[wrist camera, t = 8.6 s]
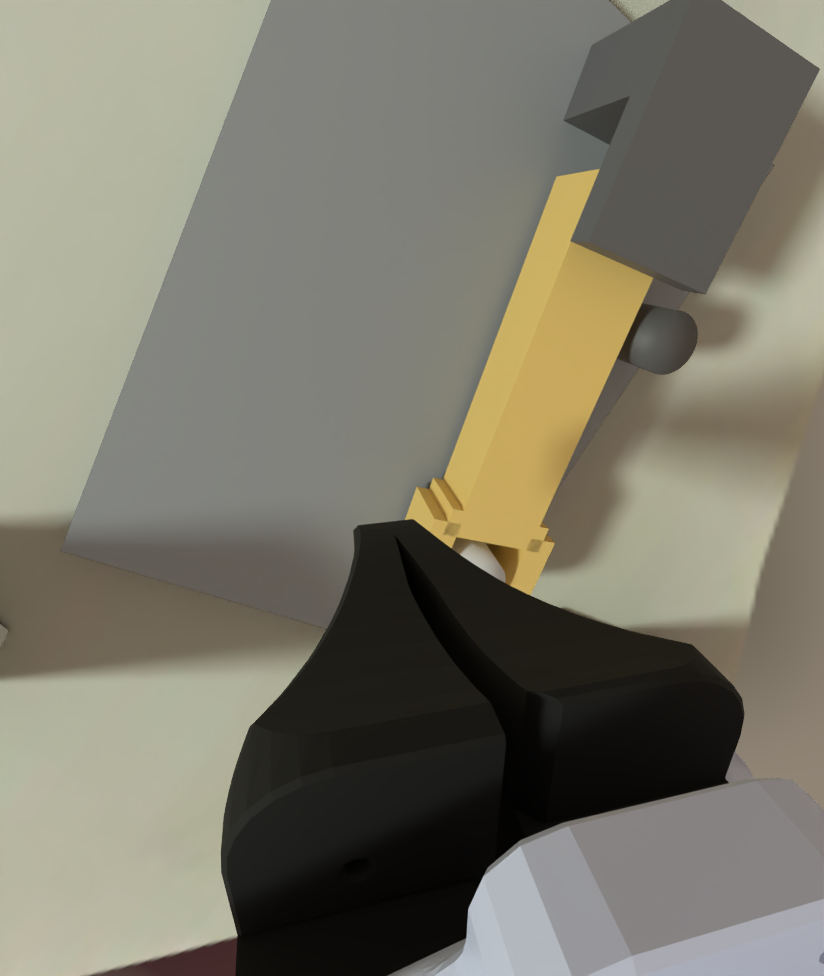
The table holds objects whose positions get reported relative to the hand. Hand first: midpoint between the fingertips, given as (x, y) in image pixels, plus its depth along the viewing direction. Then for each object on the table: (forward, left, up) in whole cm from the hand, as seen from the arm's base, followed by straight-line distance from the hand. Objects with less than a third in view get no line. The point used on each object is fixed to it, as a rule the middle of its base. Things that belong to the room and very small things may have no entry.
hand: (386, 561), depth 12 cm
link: (-5, -3, -8) cm, 10 cm away
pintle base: (-1, -3, -9) cm, 10 cm away
